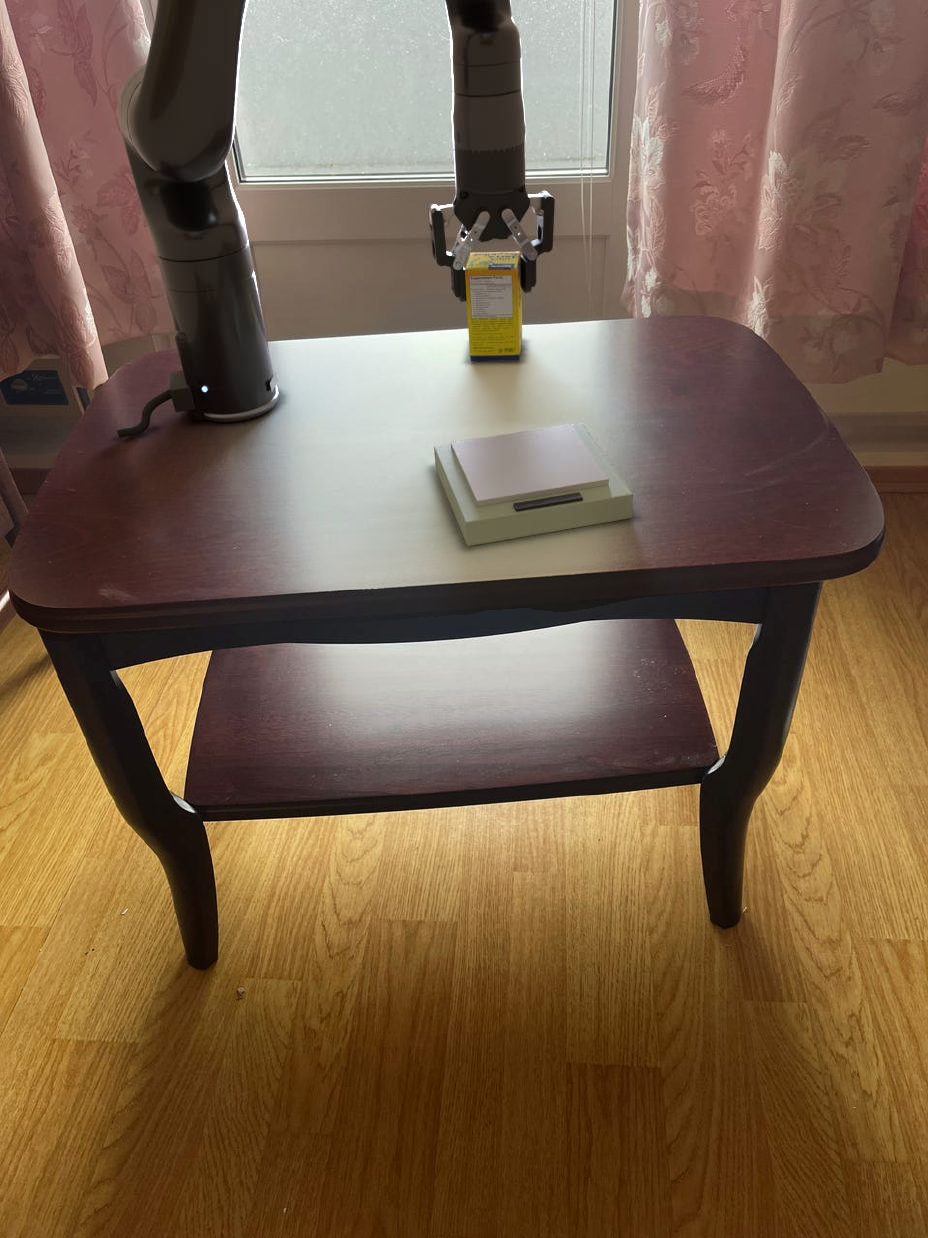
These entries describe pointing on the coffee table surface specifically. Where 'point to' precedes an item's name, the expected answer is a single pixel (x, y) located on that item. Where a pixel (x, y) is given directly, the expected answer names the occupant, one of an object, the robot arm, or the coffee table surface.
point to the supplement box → (494, 306)
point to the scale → (530, 483)
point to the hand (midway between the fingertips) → (494, 294)
